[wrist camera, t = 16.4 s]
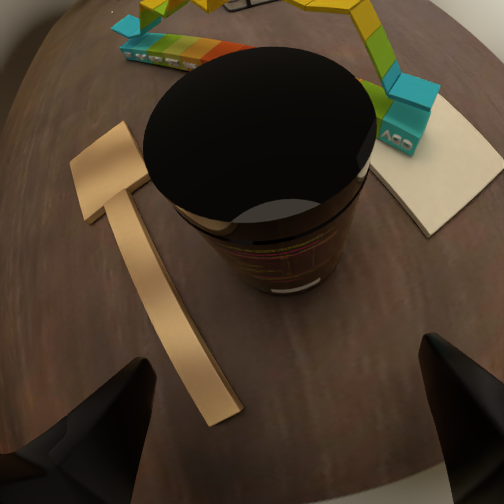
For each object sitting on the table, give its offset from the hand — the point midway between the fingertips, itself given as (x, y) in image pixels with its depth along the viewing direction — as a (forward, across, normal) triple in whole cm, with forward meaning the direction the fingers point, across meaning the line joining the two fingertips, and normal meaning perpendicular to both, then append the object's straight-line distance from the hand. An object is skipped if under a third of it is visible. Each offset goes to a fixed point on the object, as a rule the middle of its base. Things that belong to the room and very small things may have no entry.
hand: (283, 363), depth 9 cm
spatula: (+10, +9, 0) cm, 14 cm away
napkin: (+14, -11, -4) cm, 18 cm away
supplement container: (+10, 0, 0) cm, 10 cm away
